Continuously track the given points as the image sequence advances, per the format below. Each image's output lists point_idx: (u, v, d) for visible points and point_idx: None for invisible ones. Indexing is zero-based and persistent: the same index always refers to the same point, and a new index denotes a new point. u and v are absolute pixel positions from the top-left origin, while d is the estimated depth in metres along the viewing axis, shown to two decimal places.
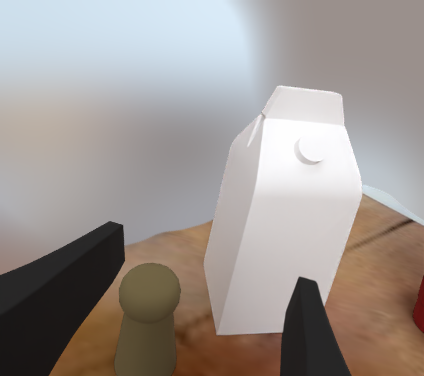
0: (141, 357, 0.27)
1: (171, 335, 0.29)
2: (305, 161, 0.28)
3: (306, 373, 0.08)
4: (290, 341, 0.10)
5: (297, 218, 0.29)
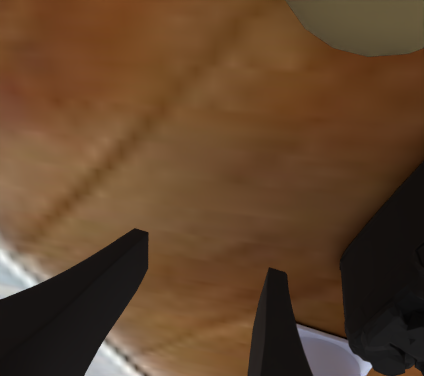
0: None
1: None
2: None
3: (262, 358, 0.08)
4: (257, 330, 0.10)
5: None
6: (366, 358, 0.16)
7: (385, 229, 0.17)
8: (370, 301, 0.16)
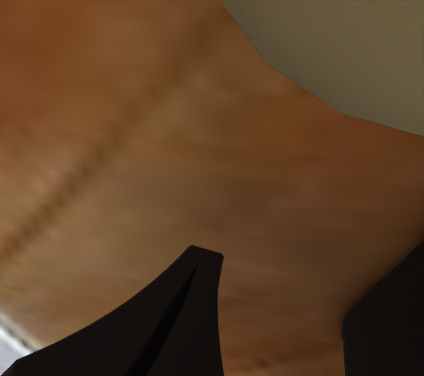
0: None
1: None
2: None
3: (173, 327, 0.08)
4: None
5: None
6: None
7: (402, 304, 0.13)
8: None
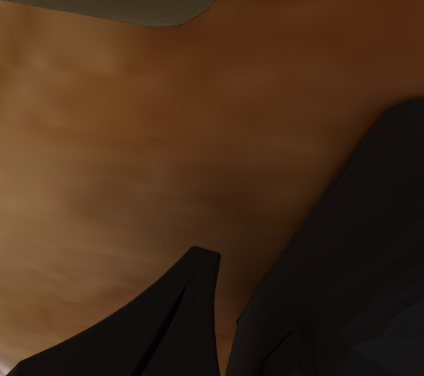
0: (97, 12, 0.07)
1: None
2: None
3: (169, 326, 0.08)
4: None
5: None
6: None
7: (267, 297, 0.12)
8: None
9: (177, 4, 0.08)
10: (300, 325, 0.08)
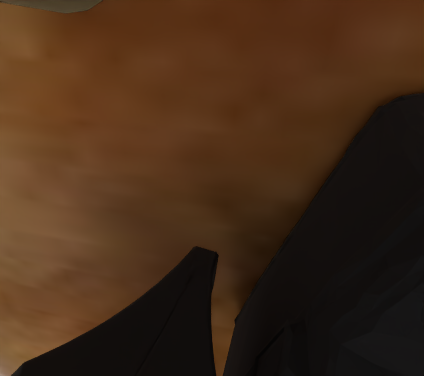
0: None
1: None
2: None
3: (166, 325, 0.08)
4: None
5: None
6: None
7: (264, 295, 0.12)
8: None
9: None
10: (292, 323, 0.08)
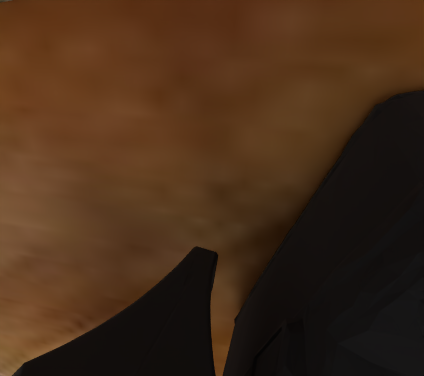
0: None
1: None
2: None
3: (165, 324, 0.08)
4: None
5: None
6: None
7: (263, 295, 0.12)
8: None
9: None
10: (290, 322, 0.08)
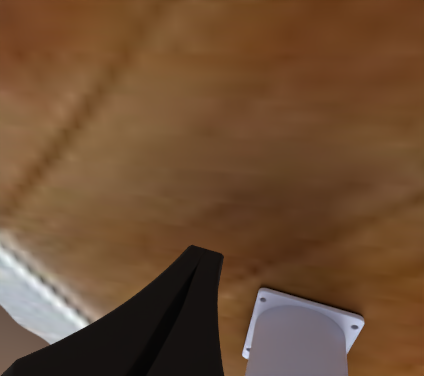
0: None
1: None
2: None
3: (173, 327, 0.08)
4: None
5: None
6: None
7: None
8: None
9: None
10: None
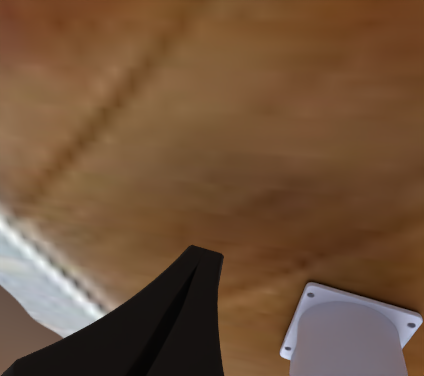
0: None
1: None
2: None
3: (173, 327, 0.08)
4: None
5: None
6: None
7: None
8: None
9: None
10: None
